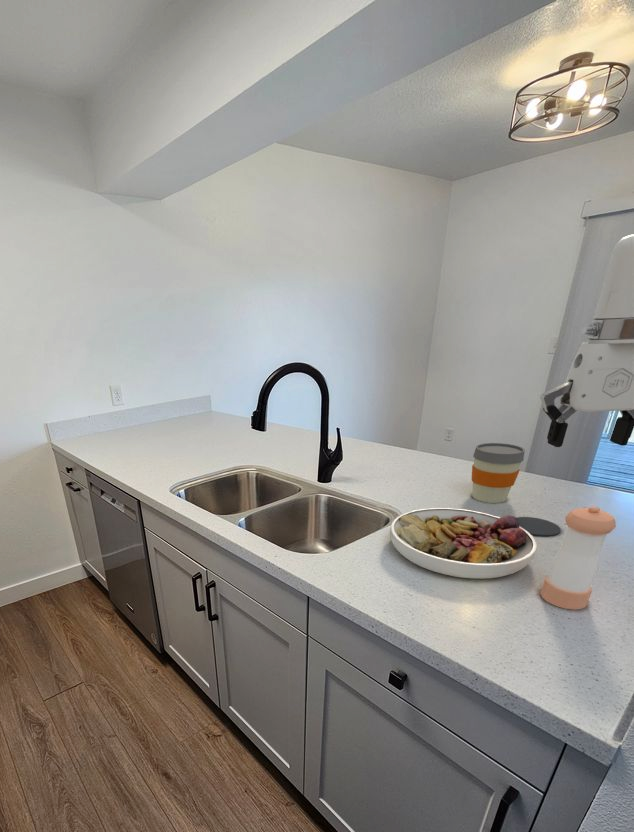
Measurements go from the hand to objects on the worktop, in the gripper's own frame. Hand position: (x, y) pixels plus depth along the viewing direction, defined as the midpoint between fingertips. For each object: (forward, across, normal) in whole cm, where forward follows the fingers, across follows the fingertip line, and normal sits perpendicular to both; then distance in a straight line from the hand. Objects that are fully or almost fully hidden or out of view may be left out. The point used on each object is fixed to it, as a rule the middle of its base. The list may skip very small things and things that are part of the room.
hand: (585, 444), depth 73 cm
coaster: (+30, +13, +31) cm, 45 cm away
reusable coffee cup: (+30, +11, +52) cm, 61 cm away
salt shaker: (+30, +3, -2) cm, 30 cm away
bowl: (+30, -10, +17) cm, 36 cm away
